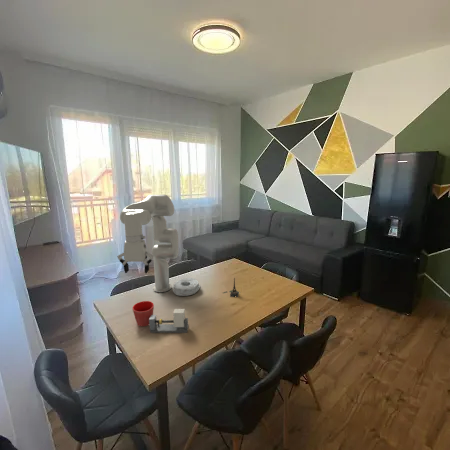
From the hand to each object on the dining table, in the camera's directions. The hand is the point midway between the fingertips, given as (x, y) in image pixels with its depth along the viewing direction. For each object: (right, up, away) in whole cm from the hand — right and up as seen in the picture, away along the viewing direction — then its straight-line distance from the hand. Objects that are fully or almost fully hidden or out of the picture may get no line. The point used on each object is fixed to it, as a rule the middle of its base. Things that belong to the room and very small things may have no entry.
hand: (136, 272), depth 120 cm
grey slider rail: (+15, -31, +6) cm, 35 cm away
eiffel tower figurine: (+50, -24, +42) cm, 69 cm away
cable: (+17, -22, +48) cm, 55 cm away
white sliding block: (+20, -28, +6) cm, 35 cm away
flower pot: (0, -30, +12) cm, 32 cm away
